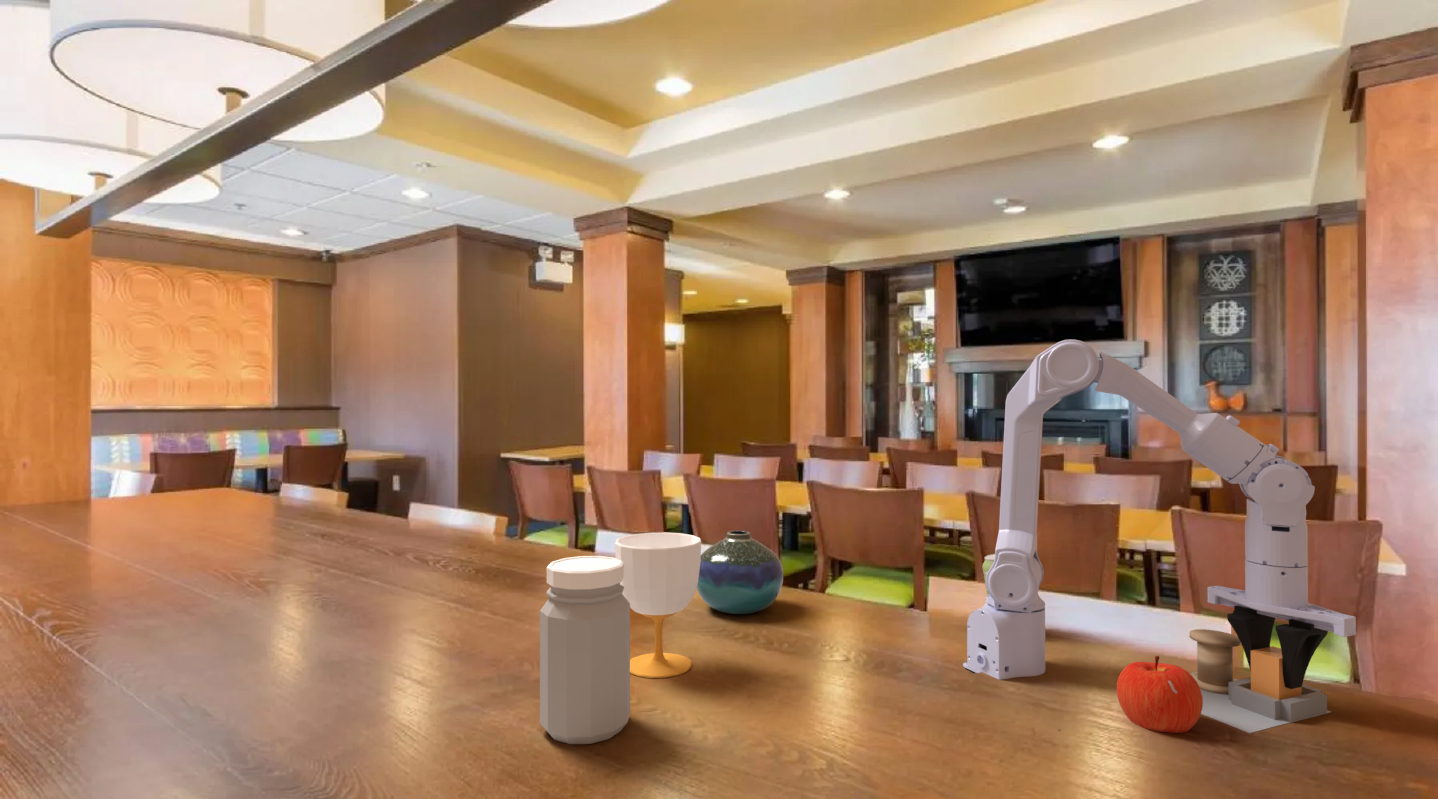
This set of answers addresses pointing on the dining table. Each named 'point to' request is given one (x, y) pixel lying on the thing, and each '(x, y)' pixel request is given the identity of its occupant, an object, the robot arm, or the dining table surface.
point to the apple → (1159, 696)
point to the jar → (585, 650)
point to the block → (1270, 674)
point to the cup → (659, 589)
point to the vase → (739, 575)
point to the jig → (1261, 707)
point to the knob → (1214, 659)
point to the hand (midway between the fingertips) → (1276, 681)
